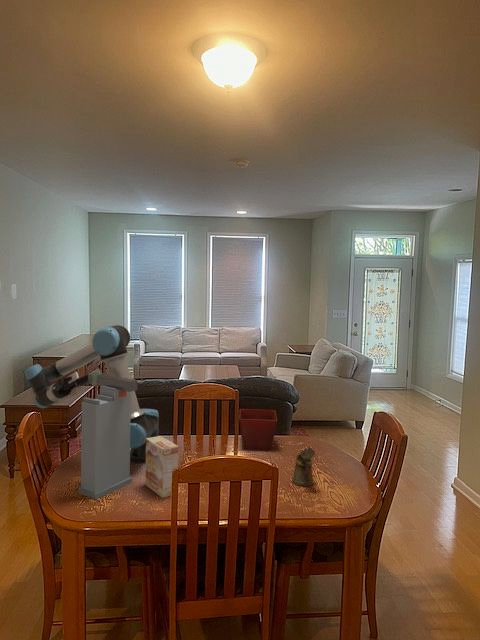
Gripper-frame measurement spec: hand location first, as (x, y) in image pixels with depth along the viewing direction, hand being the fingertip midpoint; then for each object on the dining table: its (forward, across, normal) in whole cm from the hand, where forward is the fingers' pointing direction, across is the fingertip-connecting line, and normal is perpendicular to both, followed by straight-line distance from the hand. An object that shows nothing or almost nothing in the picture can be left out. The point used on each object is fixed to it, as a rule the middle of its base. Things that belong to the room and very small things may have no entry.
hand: (88, 372), depth 194 cm
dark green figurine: (+47, -49, -76) cm, 102 cm away
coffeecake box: (+8, -9, -55) cm, 56 cm away
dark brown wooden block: (+9, -2, -10) cm, 13 cm away
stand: (-8, +3, -46) cm, 47 cm away
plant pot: (+12, -77, -57) cm, 97 cm away
